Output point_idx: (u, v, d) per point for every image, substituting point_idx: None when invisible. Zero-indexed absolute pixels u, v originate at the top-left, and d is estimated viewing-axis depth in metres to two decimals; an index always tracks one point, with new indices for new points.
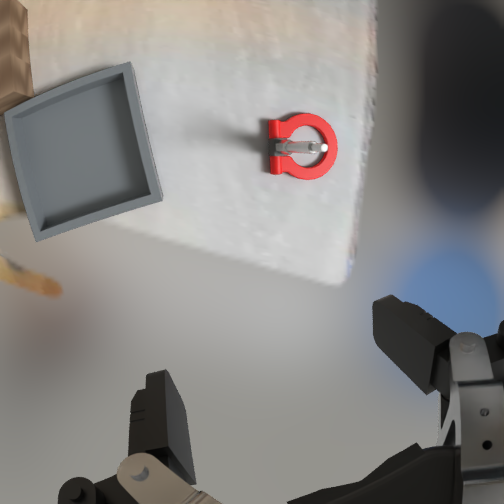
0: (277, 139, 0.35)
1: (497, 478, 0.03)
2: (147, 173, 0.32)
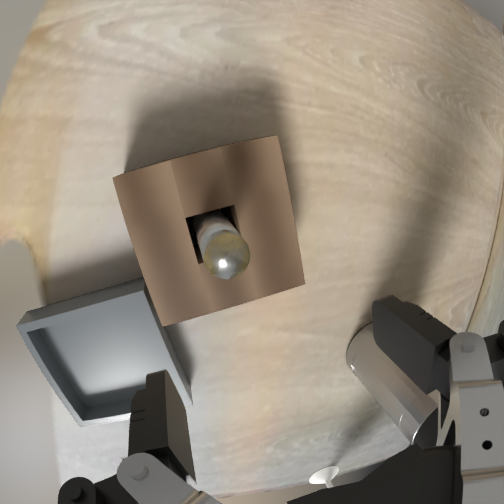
0: None
1: (497, 478, 0.03)
2: (98, 419, 0.33)
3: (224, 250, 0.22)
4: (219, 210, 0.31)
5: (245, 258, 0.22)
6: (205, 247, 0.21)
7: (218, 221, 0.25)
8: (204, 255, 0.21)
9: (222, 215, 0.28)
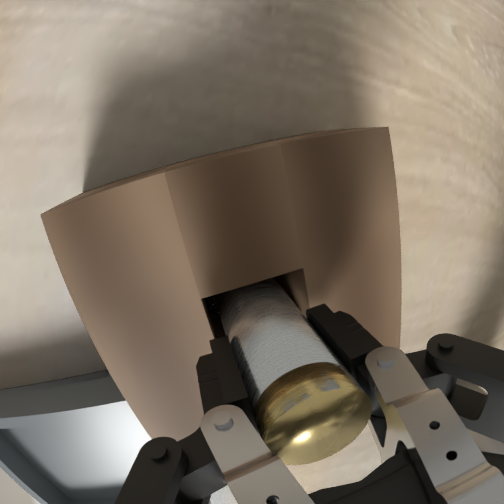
0: None
1: (497, 478, 0.03)
2: None
3: (317, 421, 0.08)
4: None
5: (358, 423, 0.08)
6: (270, 421, 0.07)
7: (280, 318, 0.11)
8: (268, 438, 0.07)
9: (274, 284, 0.14)
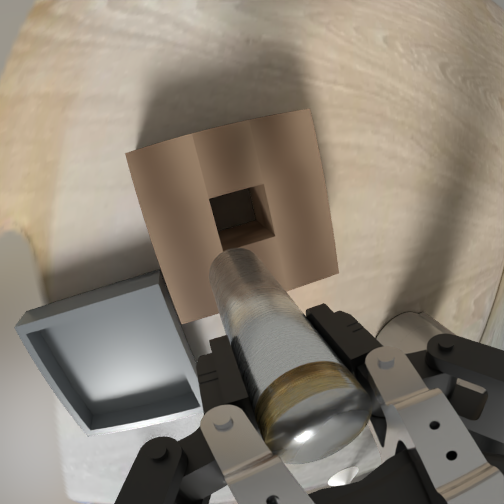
0: None
1: (497, 478, 0.03)
2: (107, 428, 0.30)
3: (318, 420, 0.08)
4: (260, 263, 0.17)
5: (359, 422, 0.08)
6: (271, 420, 0.07)
7: (281, 317, 0.11)
8: (269, 437, 0.07)
9: (275, 283, 0.14)
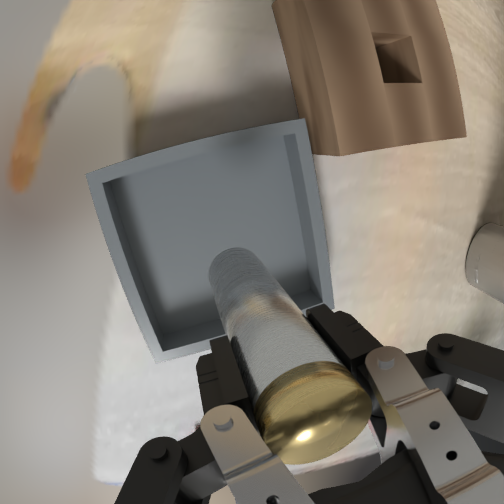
0: None
1: (497, 478, 0.03)
2: (189, 346, 0.25)
3: (317, 420, 0.08)
4: (260, 263, 0.17)
5: (358, 423, 0.08)
6: (270, 420, 0.07)
7: (280, 317, 0.11)
8: (268, 438, 0.07)
9: (274, 283, 0.14)
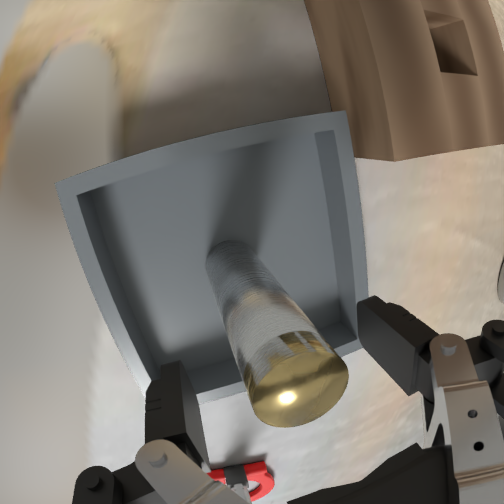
0: (246, 483, 0.26)
1: (497, 478, 0.03)
2: None
3: (298, 382, 0.09)
4: (252, 253, 0.18)
5: (337, 388, 0.10)
6: (257, 380, 0.09)
7: (268, 296, 0.12)
8: (255, 397, 0.09)
9: (264, 270, 0.16)
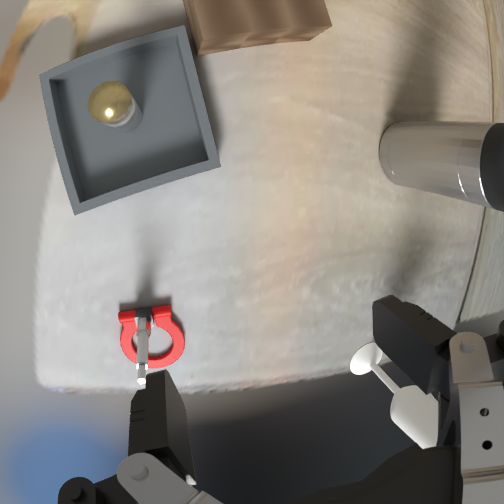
0: (150, 318, 0.36)
1: (497, 478, 0.03)
2: (100, 197, 0.30)
3: (106, 95, 0.19)
4: None
5: (125, 102, 0.20)
6: (90, 95, 0.19)
7: None
8: (88, 101, 0.19)
9: None
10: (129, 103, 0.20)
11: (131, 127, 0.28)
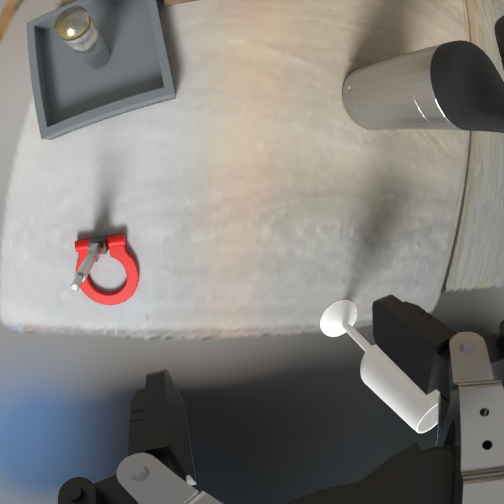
0: (103, 244, 0.35)
1: (497, 478, 0.03)
2: (64, 121, 0.29)
3: (69, 16, 0.18)
4: None
5: (84, 20, 0.19)
6: (58, 18, 0.18)
7: None
8: (55, 22, 0.18)
9: None
10: (87, 21, 0.19)
11: (97, 59, 0.27)
